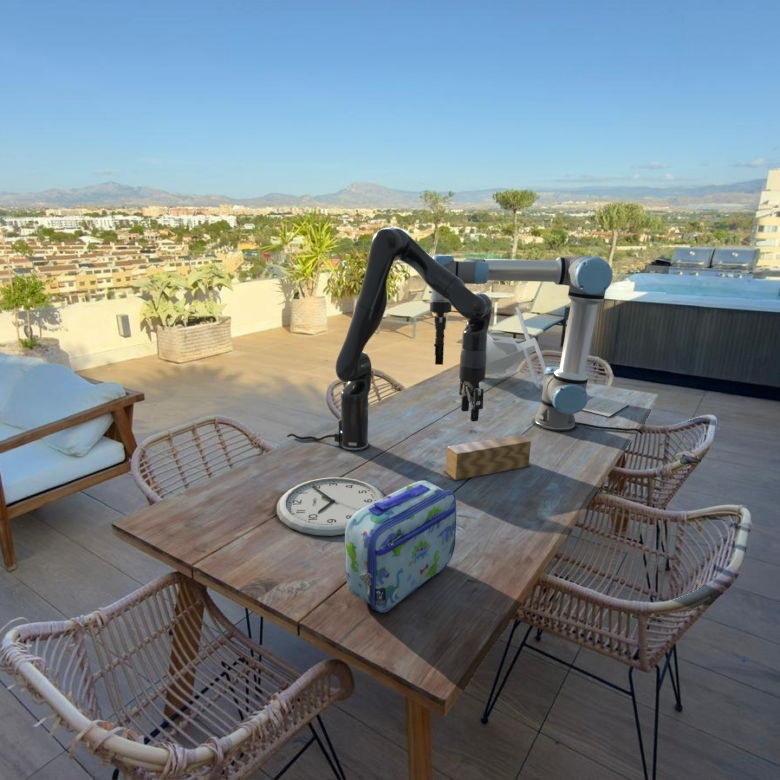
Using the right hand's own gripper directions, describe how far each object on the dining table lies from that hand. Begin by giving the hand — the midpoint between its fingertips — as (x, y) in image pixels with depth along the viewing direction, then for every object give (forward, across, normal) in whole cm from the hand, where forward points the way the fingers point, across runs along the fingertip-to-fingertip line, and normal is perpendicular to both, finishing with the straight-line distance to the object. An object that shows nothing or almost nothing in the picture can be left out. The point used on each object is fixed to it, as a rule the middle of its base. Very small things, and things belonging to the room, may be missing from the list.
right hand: (438, 359), depth 189 cm
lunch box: (+27, +90, -8) cm, 94 cm away
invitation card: (+28, -36, +72) cm, 85 cm away
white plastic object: (+28, -67, +34) cm, 80 cm away
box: (+28, +31, +16) cm, 45 cm away
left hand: (+8, +35, +9) cm, 37 cm away
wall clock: (+27, +59, -29) cm, 71 cm away
